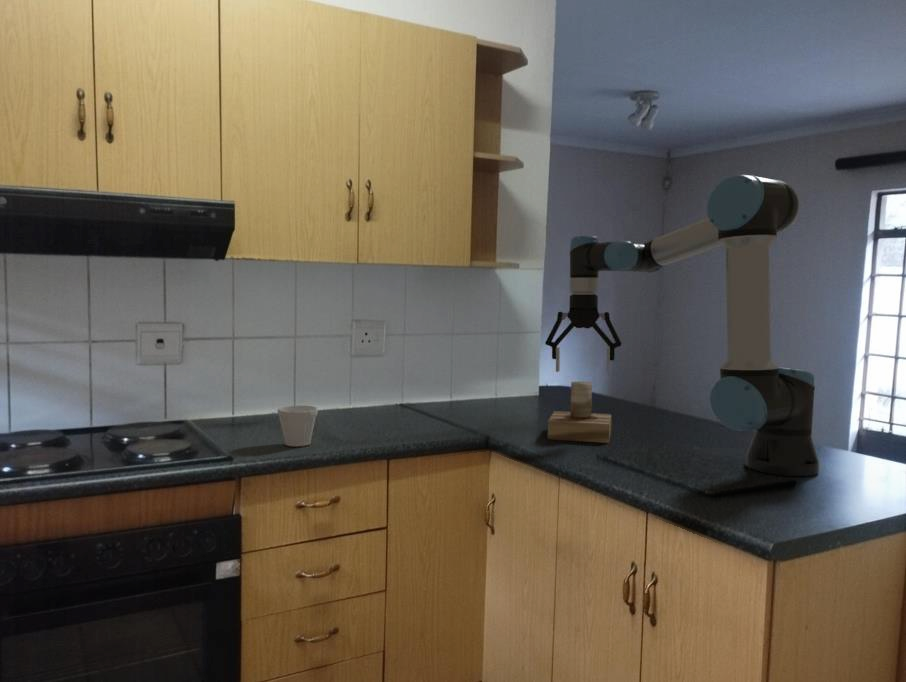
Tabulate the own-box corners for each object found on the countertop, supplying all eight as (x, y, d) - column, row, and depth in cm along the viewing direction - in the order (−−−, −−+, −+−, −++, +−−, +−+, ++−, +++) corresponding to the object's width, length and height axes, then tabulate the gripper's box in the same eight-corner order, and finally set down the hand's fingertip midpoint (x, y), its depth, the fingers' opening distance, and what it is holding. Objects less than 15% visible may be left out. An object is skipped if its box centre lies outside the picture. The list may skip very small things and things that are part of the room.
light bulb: (590, 436, 192) (591, 384, 191) (568, 434, 194) (570, 383, 192) (591, 432, 198) (592, 382, 196) (570, 430, 199) (572, 381, 198)
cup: (324, 442, 184) (324, 406, 183) (306, 450, 174) (306, 413, 173) (289, 439, 186) (289, 404, 186) (270, 447, 177) (269, 410, 176)
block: (608, 443, 186) (609, 424, 186) (547, 439, 190) (548, 420, 190) (610, 431, 201) (611, 414, 200) (554, 428, 205) (554, 411, 204)
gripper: (631, 293, 193) (630, 371, 194) (539, 293, 199) (538, 369, 201) (631, 293, 186) (629, 374, 187) (535, 293, 192) (535, 372, 193)
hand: (582, 372), depth 194 cm, fingers open, 13 cm apart
